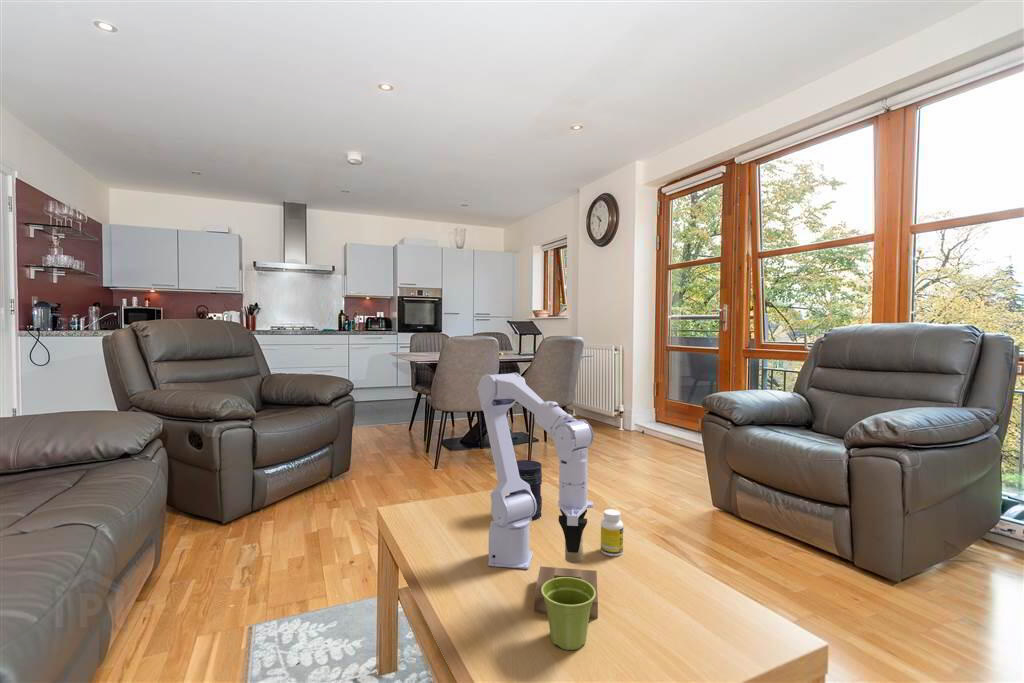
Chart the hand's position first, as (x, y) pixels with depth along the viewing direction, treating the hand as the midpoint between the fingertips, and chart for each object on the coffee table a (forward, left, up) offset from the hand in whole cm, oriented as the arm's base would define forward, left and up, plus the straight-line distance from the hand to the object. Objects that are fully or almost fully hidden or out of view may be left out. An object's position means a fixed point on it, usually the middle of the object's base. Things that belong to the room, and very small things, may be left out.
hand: (573, 547), depth 96 cm
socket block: (-1, -1, -10) cm, 10 cm away
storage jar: (-15, +41, -10) cm, 45 cm away
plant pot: (0, -14, -10) cm, 17 cm away
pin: (0, 0, -2) cm, 3 cm away
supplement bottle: (+9, +21, -10) cm, 25 cm away
